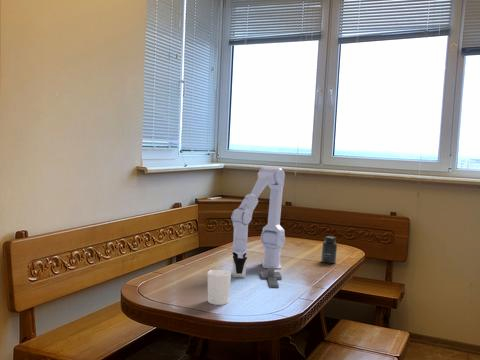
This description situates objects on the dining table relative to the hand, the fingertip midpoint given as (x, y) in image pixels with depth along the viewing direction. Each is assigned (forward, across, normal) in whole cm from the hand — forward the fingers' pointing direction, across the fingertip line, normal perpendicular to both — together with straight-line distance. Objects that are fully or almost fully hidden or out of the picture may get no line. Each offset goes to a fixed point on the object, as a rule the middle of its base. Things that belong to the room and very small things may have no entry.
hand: (238, 271), depth 200 cm
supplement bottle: (+2, -29, +43) cm, 52 cm away
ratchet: (+2, +6, +13) cm, 14 cm away
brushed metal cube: (+2, 0, 0) cm, 2 cm away
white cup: (+2, +34, -8) cm, 35 cm away
